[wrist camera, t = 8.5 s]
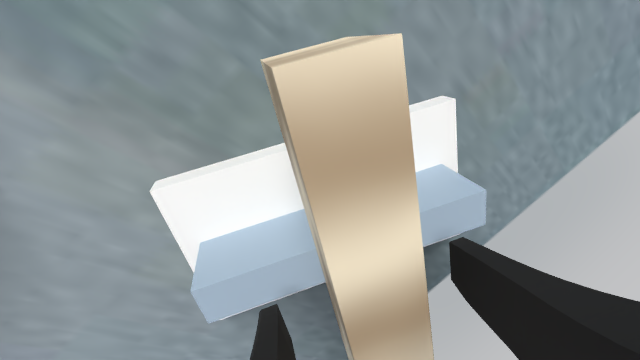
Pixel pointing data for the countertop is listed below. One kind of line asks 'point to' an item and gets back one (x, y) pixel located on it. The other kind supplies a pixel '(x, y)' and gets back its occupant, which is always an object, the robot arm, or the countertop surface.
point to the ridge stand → (295, 216)
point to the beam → (358, 187)
